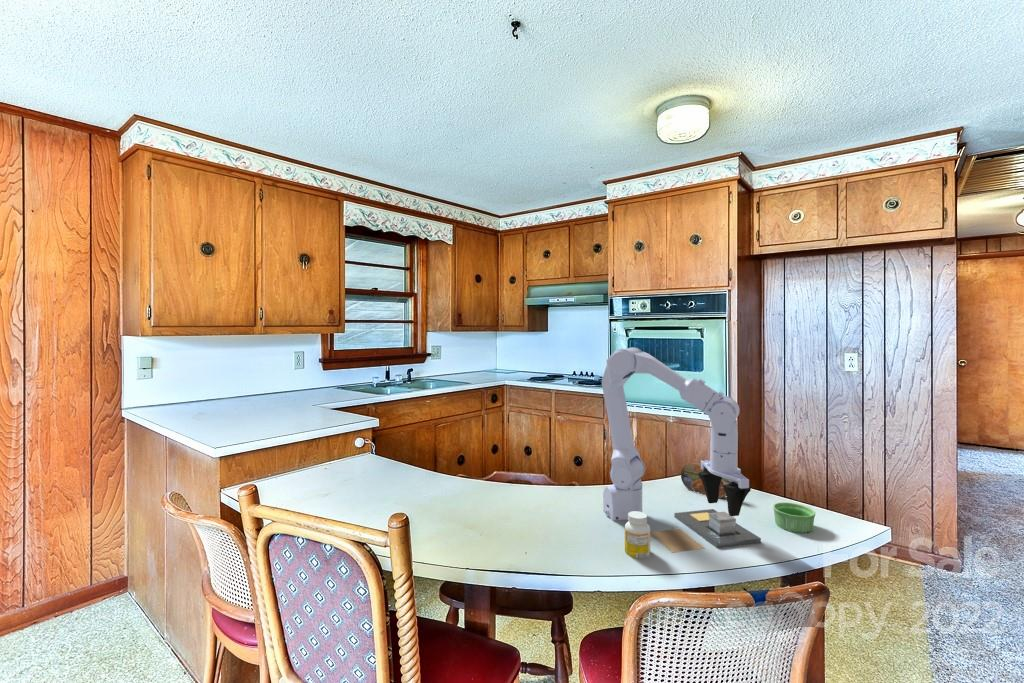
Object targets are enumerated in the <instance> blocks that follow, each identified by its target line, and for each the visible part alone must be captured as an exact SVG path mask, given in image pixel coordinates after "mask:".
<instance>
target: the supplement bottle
mask: <svg viewBox="0 0 1024 683" xmlns="http://www.w3.org/2000/svg"><path fill="white" fill-rule="evenodd" d="M650 532H651V526H650V525H649V524H648V515H647V513H645V512H643V511H642V512H639V511H632V512H629V513H628V520H627V522H626V523H625V525H624V553H625V554H626V555H628V556H630V557H632V558H636V559H646V558H649V557H650V555H651V534H650Z"/></svg>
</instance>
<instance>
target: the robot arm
mask: <svg viewBox="0 0 1024 683" xmlns="http://www.w3.org/2000/svg"><path fill="white" fill-rule="evenodd" d="M634 374H646V375H647V374H649V375H651V376H652V377H655V378H657V379H658V380H659V381H662V382H663V383H665V384H666V385H668V386H670V387H672V388H674V389H676V390H677V391H678V392H679V395H680V396H679V397H680V398H681V399H682V400H683V401H684V402H686V403H688V404H690V405H691V406H693V407H694V408H696V409H697V410H698V411H700V412H702V413H703V414H706V415H707V416H708V418H709V419H710V421H711V422H710V423H711V425H710V426H711V428H710V445H709V446H710V447H709V448H710V449H709V450H710V451H709V454H710V456H709V460H708V459H706V460H700V464H701V469H703V470H704V471H703V472H699V473H698V475H699V477H700V478H701V480H702V483H703V485H704V488H705V492H706V495H705V496H706V498H707V499H706V500H707V503H709V504H718V502H719V498H718V497H719V487H720V483H721V479H722V478H724V479H726V480H728V481H730V482H731V484H726V485H723V487H724V490H725V492H726V496H725V497H726V501H727V511H728V513H727V514H729V515H730V516H732V517H738V516H740V513H741V509H742V506H743V504H744V501H745V499H746V497H747V496H748V494H749V493H750V492H751V491H752V489H751V488H752V486H750V479H749V478H748V477H746V476H744V475H743V474H742V473H741V472H742V470H741V468H739V467H738V448H739V447H738V445H739V442H738V440H739V432H738V420H737V418H738V417H739V415H740V410H741V409H740V406H739V404H738V402H737V401H736V400H735V399H734V398H733V397H731V396H728V395H724V394H725V393H723V392H722V391H719V392H718V391H716V390H715V389H713V388H711V387H710V386H708V385H706V384H705V383H706V381H705V380H704V379H702V378H700V379H697V378H695V377H694V378H689V379H687V378H685V377H684V376H683V375H681V374H680V373H677V371H675V370H673V369H672V368H671V367H669V366H668V365H666V364H665V363H664V362H661V361H660V360H659V359H657V358H656V357H654V356H652V355H651V354H650V353H647V352H646V351H642V350H641V349H640V348H638V347H633V346H632V347H628V348H619V349H616V350H614V351H613V352H612V353H611V354H610V356H608V358H607V359H606V366H605V369H604V373H603V374H602V377H601V378H602V379H601V386H602V387H601V388H602V392H603V399H604V404H605V409H606V410H605V411H606V415H607V420H608V427H609V431H610V436H611V441H612V447H613V452H612V456H611V459H610V462H611V463H610V464H611V469H610V472H609V477H610V480H611V482H612V484H611V485H610V486H609V485H608V486H606V487H604V489H603V492H602V494H603V495H602V497H603V498H602V499H603V500H602V501H603V502H602V503H603V504H602V505H603V506H602V507H603V508H602V509H603V513H604V514H605V516H606V517H608V518H609V520H611V521H613V522H614V521H626V520H627V521H628V513H629V512H632V511H639V512H643V483H642V477H644V475H645V473H646V465H645V463H644V461H643V460H642V459H641V456H640V451H639V450H638V449H637V447H636V446H635V443H634V438H633V431H632V427H631V423H630V422H631V421H630V416H629V411H628V404H627V401H626V395H625V390H624V386H625V384H626V383H627V382H628V380H629V379H630V378H631V376H633V375H634Z"/></svg>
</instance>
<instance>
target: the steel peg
mask: <svg viewBox="0 0 1024 683" xmlns="http://www.w3.org/2000/svg"><path fill="white" fill-rule="evenodd" d="M736 523H737V519H736V517H735V516H730V515H729V513H727V512H726V511H717V512H716V513H709V529H710V530H711V531H713V532H714V533H715V534H717V535H718V536H720V537H722V536H731V535H735V524H736Z"/></svg>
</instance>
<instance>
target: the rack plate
mask: <svg viewBox="0 0 1024 683" xmlns="http://www.w3.org/2000/svg"><path fill="white" fill-rule="evenodd" d="M716 512H718V511H717V510H716V509H714V508H709V509H701V510H699V509H698V510H691V511H680V512H674V515H673V516H674V518H675V519H677V521H679V522H680V523H682V524H683V525H684V526H686V527H687V528H689V529H690V530H691V531H692V532H694V533H695V534H697V535H698V536H699V537H701V538H702V539H703V540H705V541H706V542H708V543H709V544H711V545H712V546H713V547H715V548H716V549H722V548H731V547H738V546H746V545H747V546H748V545H753V544H754V545H755V544H762V538H761V537H759V536H758V535H756V534H755V533H753V532H751V531H750V530H748V529H747V528H745V527H743V526H742V525H740V524H738V523H737V522H736V524H735V535H731V536H722V537H720V536H718V535H717V534H715V533H714V532H713V531H711V530H710V529H709V513H716Z"/></svg>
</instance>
